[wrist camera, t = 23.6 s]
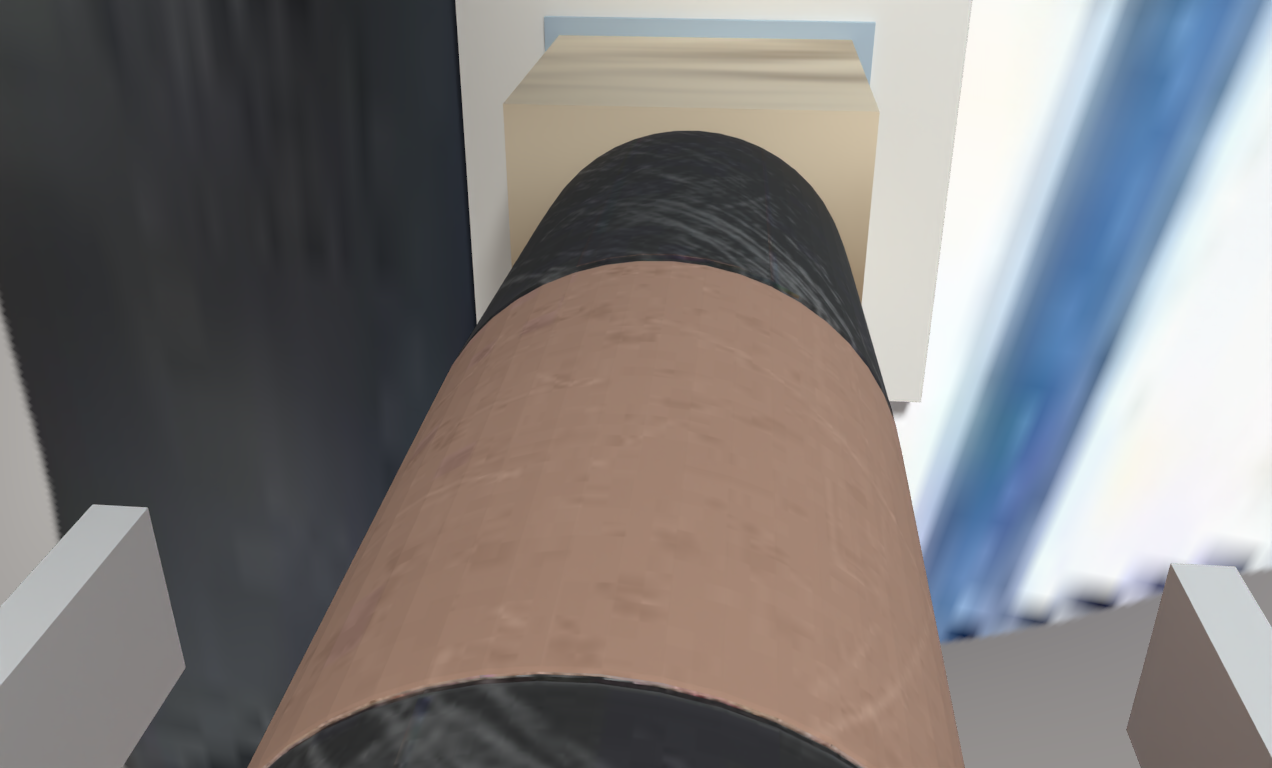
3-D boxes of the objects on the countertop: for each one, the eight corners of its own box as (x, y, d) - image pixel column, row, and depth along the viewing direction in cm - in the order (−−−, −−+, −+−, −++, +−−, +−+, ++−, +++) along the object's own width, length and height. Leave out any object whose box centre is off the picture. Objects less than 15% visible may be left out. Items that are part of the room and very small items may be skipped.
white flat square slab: (460, -87, 32) (448, -82, 31) (974, -82, 31) (983, -76, 30) (488, 366, 39) (479, 385, 37) (916, 385, 37) (921, 405, 36)
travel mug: (454, 265, 27) (-142, 1196, 9) (703, 38, 24) (551, 740, 6) (676, 483, 29) (547, 1585, 11) (928, 298, 26) (1298, 1379, 8)
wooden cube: (558, 35, 32) (502, 103, 25) (851, 39, 31) (879, 111, 24) (567, 302, 36) (520, 429, 29) (830, 311, 35) (848, 443, 28)
